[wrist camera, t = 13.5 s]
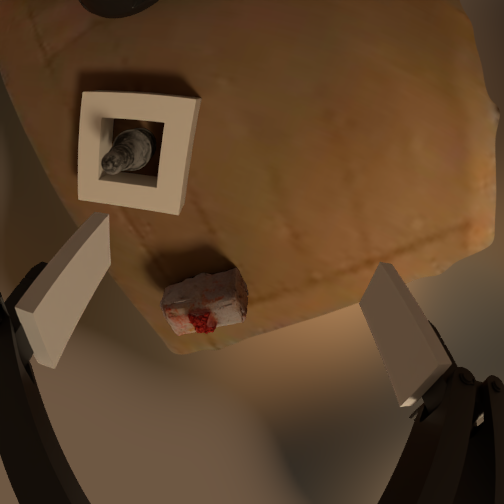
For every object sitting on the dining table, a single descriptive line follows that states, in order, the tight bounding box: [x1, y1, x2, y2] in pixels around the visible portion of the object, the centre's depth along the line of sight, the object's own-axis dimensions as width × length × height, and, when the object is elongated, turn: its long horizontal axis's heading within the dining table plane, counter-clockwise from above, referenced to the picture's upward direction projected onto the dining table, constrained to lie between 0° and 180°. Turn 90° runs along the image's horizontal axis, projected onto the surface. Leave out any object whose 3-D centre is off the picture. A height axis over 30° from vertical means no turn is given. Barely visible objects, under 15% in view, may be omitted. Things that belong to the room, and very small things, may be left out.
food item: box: [160, 267, 248, 336], centre depth 49 cm, size 14×8×10 cm, turn 108°
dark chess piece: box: [101, 128, 156, 175], centre depth 34 cm, size 6×6×12 cm
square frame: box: [78, 90, 201, 215], centre depth 38 cm, size 16×16×4 cm
